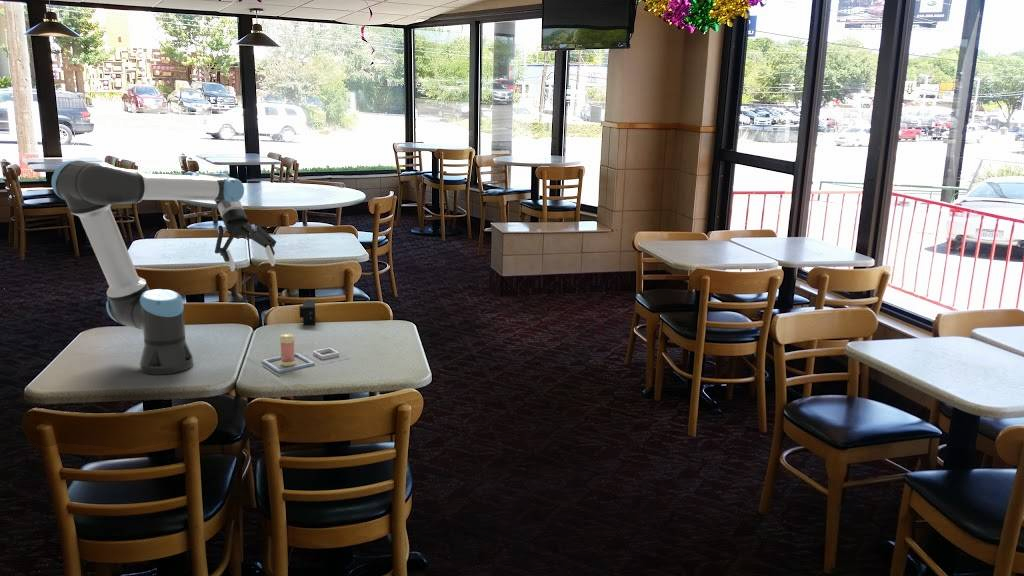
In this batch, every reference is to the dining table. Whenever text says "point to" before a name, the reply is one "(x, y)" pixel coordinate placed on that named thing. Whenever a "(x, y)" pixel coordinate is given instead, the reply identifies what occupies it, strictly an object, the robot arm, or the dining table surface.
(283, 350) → the fuse
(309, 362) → the tray
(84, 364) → the dining table surface
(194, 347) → the dining table surface
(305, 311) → the digital camera
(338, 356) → the white rectangular frame
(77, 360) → the dining table surface
